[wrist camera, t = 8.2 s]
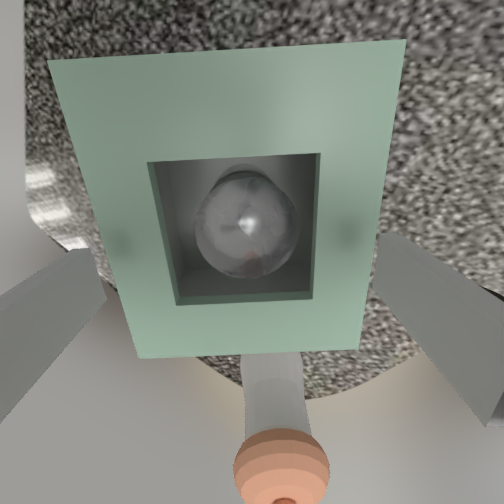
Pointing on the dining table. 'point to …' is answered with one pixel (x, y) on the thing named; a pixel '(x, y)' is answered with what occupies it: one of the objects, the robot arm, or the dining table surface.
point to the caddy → (214, 164)
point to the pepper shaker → (278, 435)
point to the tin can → (246, 224)
